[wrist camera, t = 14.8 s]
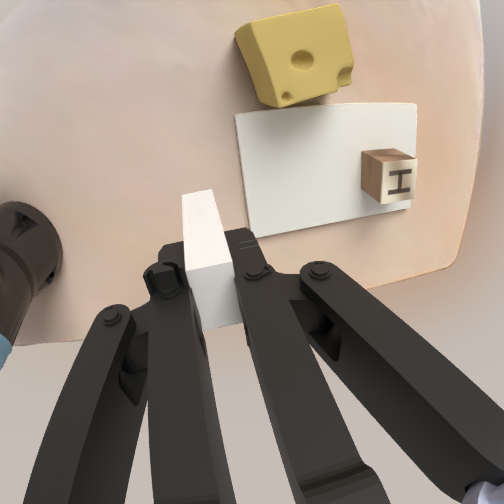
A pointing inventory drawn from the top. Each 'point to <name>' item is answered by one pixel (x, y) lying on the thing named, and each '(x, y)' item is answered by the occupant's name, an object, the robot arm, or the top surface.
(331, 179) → the cutting board
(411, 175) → the walnut block
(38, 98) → the top surface
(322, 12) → the cheese
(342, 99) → the top surface
